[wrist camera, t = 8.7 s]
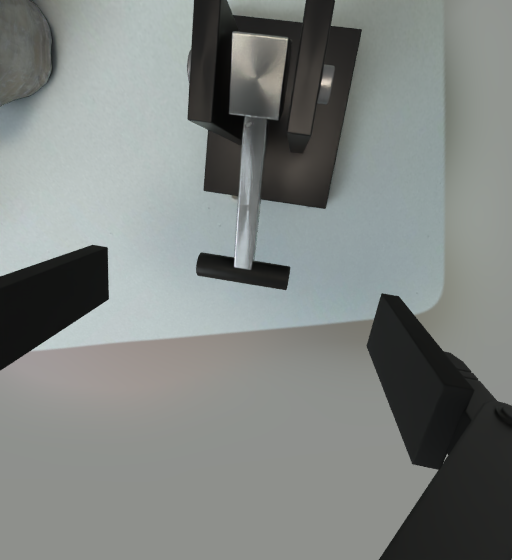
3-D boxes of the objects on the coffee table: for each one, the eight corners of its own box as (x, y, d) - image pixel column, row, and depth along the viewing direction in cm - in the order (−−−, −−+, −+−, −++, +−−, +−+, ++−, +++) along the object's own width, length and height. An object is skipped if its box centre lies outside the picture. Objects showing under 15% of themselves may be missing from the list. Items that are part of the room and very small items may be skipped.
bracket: (324, 207, 27) (352, 241, 14) (207, 190, 27) (127, 206, 14) (358, 36, 23) (446, -149, 10) (220, 20, 23) (126, -173, 10)
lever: (287, 277, 21) (285, 300, 19) (204, 263, 21) (193, 284, 19) (331, 44, 14) (334, 42, 12) (205, 30, 14) (188, 26, 12)
